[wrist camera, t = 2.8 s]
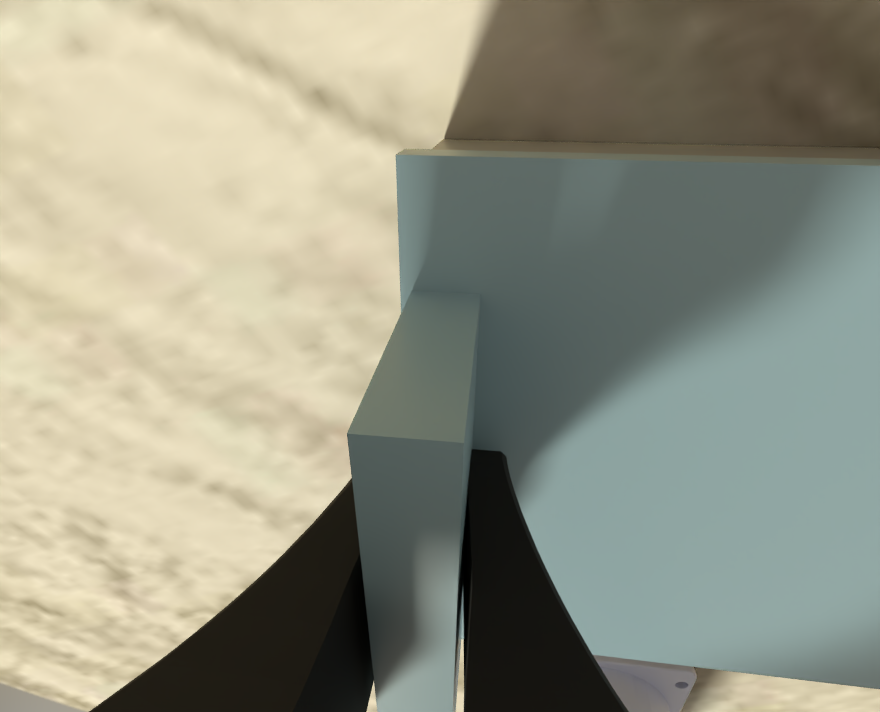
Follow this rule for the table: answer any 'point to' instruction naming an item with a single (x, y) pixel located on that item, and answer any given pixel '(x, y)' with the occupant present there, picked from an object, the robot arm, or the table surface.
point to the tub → (661, 149)
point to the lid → (633, 408)
